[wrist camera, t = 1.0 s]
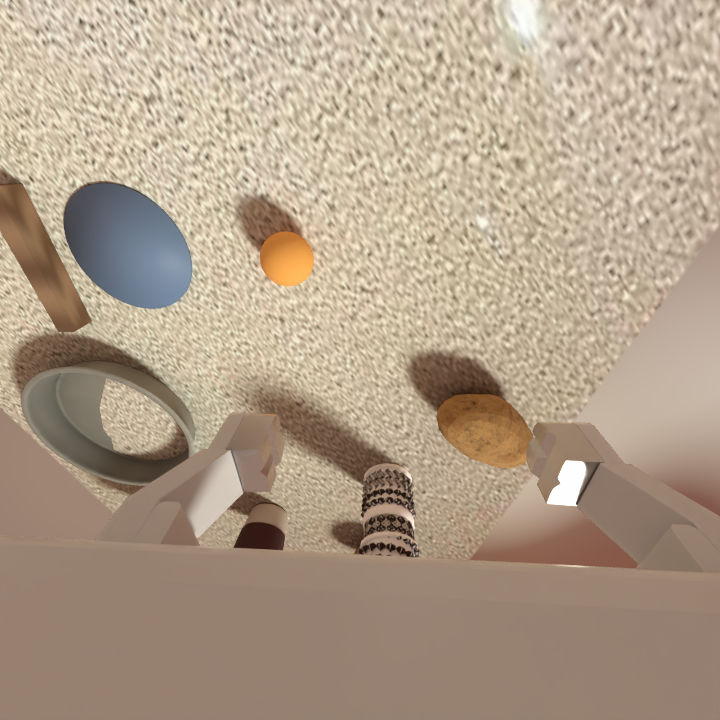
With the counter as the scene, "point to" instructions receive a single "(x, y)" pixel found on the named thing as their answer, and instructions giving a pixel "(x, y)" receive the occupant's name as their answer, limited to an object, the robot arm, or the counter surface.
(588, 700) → the robot arm
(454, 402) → the potato
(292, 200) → the counter surface
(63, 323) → the bar
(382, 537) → the decorative candle
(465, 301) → the counter surface
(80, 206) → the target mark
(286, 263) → the ball
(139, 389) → the grey ring
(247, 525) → the coffee cup
